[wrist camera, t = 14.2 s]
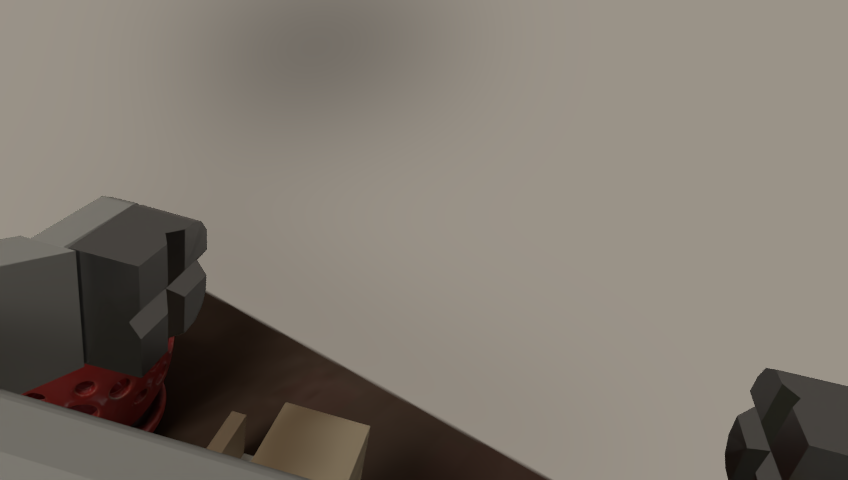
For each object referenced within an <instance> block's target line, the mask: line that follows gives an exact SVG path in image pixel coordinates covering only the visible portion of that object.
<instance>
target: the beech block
mask: <svg viewBox="0 0 848 480" xmlns="http://www.w3.org/2000/svg"><path fill="white" fill-rule="evenodd" d="M369 431H370V426H368V425H364V424H361V423H357V422H354V421H350V420H347V419H343V418H340V417H336V416H333V415H329V414H325V413H322V412H318V411H315V410H311V409H308V408H304V407H301V406H297V405H294V404H290V403H287V402H286V403H285V405H284V406H283V408H282V410H281V411H280V413H279V415H278V416H277V418H276V420H275V421H274V423H273V425H272V426H271V428H270V430H269V432H268V433H267V435H266V437H265V438H264V440H263V442H262V443H261V445H260V447H259V448H258V450H257V452H256V454H255V455H254V457H253V459H252V460H251V462H253V463H257V464H260V465H264V466H267V467H270V468H274V469H277V470H281V471H284V472H287V473H291V474H294V475H298V476H301V477H305V478H308V479H311V480H361V475H362V469H363V464H364V458H365V453H366V447H367V442H368V436H369Z"/></svg>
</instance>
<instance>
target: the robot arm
mask: <svg viewBox="0 0 848 480" xmlns="http://www.w3.org/2000/svg"><path fill="white" fill-rule="evenodd" d="M206 250H207V229H206V228H205V226H204V225H203V223H202V222H201V221H198V220H194V219H190V218H187V217H183V216H180V215H176V214H172V213H169V212H165V211H162V210H158V209H155V208H151V207H147V206H144V205H139V204H137V203H134V202H130V201H126V200H122V199H117V198H113V197H104V196H101V197H100V198H98V199H96V200H95V201H93V202H91V203H90V204H88V205H86V206H85V207H83V208H81V209H79V210H78V211H76V212H75V213H73V214H71V215H69V216H68V217H66V218H64V219H63V220H61V221H60V222H58V223H56V224H54V225H53V226H51V227H49V228H48V229H46V230H44V231H42V232H41V233H39V234H37V235H36V236H34V237H33V238H31V239H30V238H26V237H22V236H18V237H11V238H5V239H0V480H311V479H308V478H305V477H301V476H298V475H294V474H291V473H287V472H284V471H281V470H277V469H274V468H270V467H267V466H264V465H260V464H257V463H253V462H250V461H246V460H243V459H240V458H236V457H233V456H229V455H226V454H223V453H219V452H216V451H212V450H209V449H205V448H202V447H199V446H195V445H192V444H188V443H185V442H182V441H178V440H175V439H171V438H168V437H164V436H161V435H158V434H154V433H151V432H147V431H144V430H140V429H137V428H134V427H130V426H127V425H123V424H120V423H117V422H113V421H110V420H106V419H103V418H99V417H96V416H93V415H89V414H86V413H82V412H79V411H76V410H72V409H69V408H65V407H62V406H58V405H55V404H52V403H48V402H45V401H41V400H38V399H34V398H31V397H28V396H24V395H21V394H23V393H25V392H27V391H30V390H32V389H34V388H37V387H39V386H41V385H43V384H46V383H48V382H50V381H53V380H55V379H57V378H59V377H62V376H64V375H66V374H69V373H71V372H73V371H76V370H78V369H80V368H82V367H84V366H85V365H84V364H88V365H92V366H96V367H100V368H104V369H108V370H112V371H115V372H119V373H123V374H127V375H131V376H135V377H139V378H143V377H144V375H145V374H146V373H147V372H148V371H149V370H150V369H151V368H152V367H153V366H154V365H155V364H156V363H157V362H158V361H159V359H160V358H161V357H162V356H163V355H164V354H165V353H166V352H167V351H168V338H171V337H174V336H177V335H180V334H183V333H185V331H186V330H187V329H188V328H189V327H190V326H191V325H192V323H193V322H194V321H195V319H196V317H197V315H198V313H199V310H200V308H201V306H202V304H203V299H204V295H205V290H206V274H205V272H204V271H203V269H202V267H201V266H200V264H199V263H198V261H197V259H198V258H199V257H200V256H201V255H202V254H203V253H204V252H205V251H206ZM750 392H751V395H752V398H753V401H754V404H755V407H753V408H751V409H749V410H748V411H746V412H744V413H742V414H740V415H738V416H737V418H736V420H735V422H734V424H733V426H732V429H731V431H730V433H729V436H728V441H727V446H726V451H725V465H726V467H725V468H726V472H727V476H728V480H848V386H844V385H840V384H835V383H831V382H827V381H823V380H818V379H814V378H809V377H805V376H801V375H797V374H792V373H788V372H784V371H779V370H775V369H768V368H766V369H765V370H764V371H763V372H762V373H761V374H760V375H759V376H758V377H757V379H756V381H755V383H754V385H753V387H752V388H751V390H750Z"/></svg>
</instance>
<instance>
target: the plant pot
mask: <svg viewBox="0 0 848 480" xmlns="http://www.w3.org/2000/svg"><path fill="white" fill-rule="evenodd" d="M174 339H175V336H174V337H171V338H168V351H167V352H166V353H165V354H164V355H163V356H162V357H161V358H160V359H159V361H158V362H157V363H156V364H155V365H154V366H153V367H152V368H151V369H150V370H149V371H148V372H147V373H146V374H145V375H144V377H143V378H139V377H135V376H131V375H127V374H123V373H119V372H115V371H112V370H108V369H104V368H100V367H96V366H92V365H88V364H84V365H85V366H84V367H82V368H80V369H78V370H76V371H73V372H71V373H69V374H66V375H64V376H62V377H59V378H57V379H55V380H53V381H50V382H48V383H46V384H43V385H41V386H39V387H37V388H34V389H32V390H30V391H27V392H25V393H23V394H21V395H24V396H28V397H31V398H34V399H38V400H41V401H45V402H48V403H52V404H55V405H58V406H62V407H65V408H69V409H72V410H76V411H79V412H82V413H86V414H89V415H93V416H96V417H99V418H103V419H106V420H110V421H113V422H117V423H120V424H123V425H127V426H130V427H134V428H137V429H140V430H144V431H147V432H151V433H153V432H154V430H155V429H156V427H157V426H158V424H159V422H160V420H161V418H162V416H163V413H164V410H165V406H166V389H165V385H164V380H165V377H166V374H167V372H168V369H169V365H170V362H171V358H172V353H173V347H174Z"/></svg>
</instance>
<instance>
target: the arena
mask: <svg viewBox="0 0 848 480" xmlns="http://www.w3.org/2000/svg"><path fill="white" fill-rule="evenodd" d="M245 429H246V415H244V414H241V413H237V412H234V411H232V412H231V414H230V415H229V417H228V418H227V419H226V421H225V422H224V424H223V425H222V427H221V428H220V430H219V431H218V433H217V434H216V435H215V437H214V438H213V440H212V441H211V443H210V444H209V446H208V447H207V448H206V449H209V450H212V451H216V452H219V453H223V454H226V455H229V456H233V457H236V458H240V459H243V460H246V461H250V462H251V460H252V459H253V457H254V456H251V455H248V454H245V453H244V443H245Z"/></svg>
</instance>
